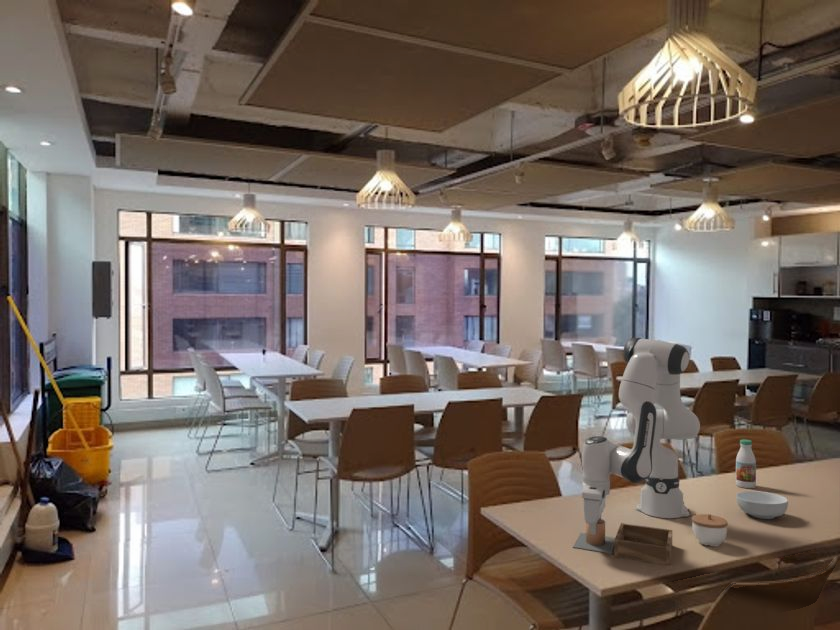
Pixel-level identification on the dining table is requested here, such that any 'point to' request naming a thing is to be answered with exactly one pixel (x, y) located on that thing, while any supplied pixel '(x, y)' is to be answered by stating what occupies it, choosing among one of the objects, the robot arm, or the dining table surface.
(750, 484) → the milk bottle
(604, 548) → the slate mat
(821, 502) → the dining table surface
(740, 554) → the dining table surface
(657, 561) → the wooden frame
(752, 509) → the cereal bowl
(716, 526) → the lidded jar
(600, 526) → the peach cylinder
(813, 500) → the dining table surface
